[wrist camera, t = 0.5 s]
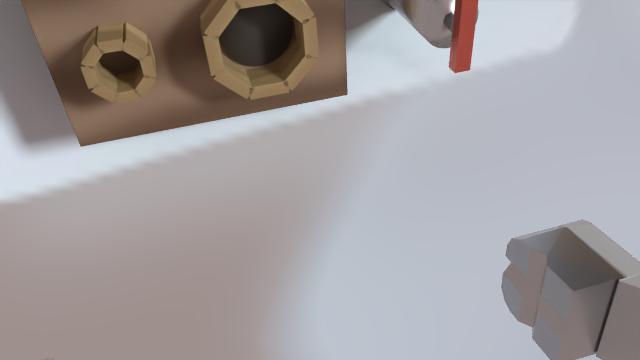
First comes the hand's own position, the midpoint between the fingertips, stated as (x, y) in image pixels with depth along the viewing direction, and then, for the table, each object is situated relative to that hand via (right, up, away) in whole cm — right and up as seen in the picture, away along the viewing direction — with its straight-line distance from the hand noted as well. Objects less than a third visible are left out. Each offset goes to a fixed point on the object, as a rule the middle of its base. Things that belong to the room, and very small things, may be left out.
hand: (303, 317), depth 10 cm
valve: (+7, +20, +39) cm, 44 cm away
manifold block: (-10, +16, +36) cm, 40 cm away
